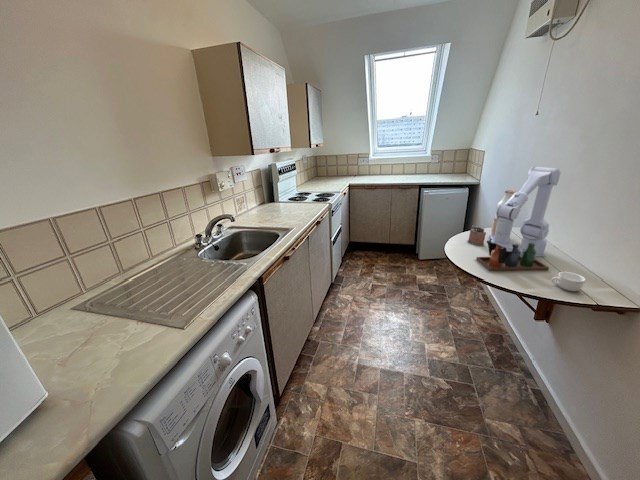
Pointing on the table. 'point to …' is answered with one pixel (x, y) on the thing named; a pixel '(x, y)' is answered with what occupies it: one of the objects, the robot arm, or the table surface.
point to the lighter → (477, 236)
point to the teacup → (569, 281)
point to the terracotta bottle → (495, 257)
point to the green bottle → (528, 256)
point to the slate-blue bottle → (513, 256)
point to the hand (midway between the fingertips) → (496, 259)
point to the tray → (536, 267)
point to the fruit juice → (506, 197)
